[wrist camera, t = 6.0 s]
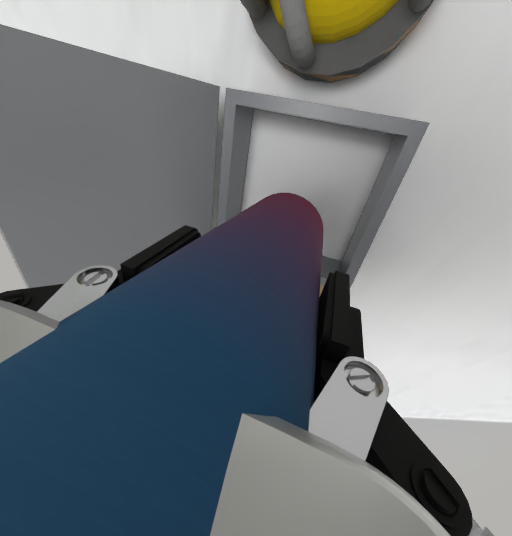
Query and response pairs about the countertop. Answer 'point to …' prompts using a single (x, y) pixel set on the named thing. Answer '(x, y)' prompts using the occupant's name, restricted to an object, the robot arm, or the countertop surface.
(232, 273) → the cup
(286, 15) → the cage light
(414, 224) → the countertop surface
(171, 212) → the case lid
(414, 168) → the countertop surface
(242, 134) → the equipment case
